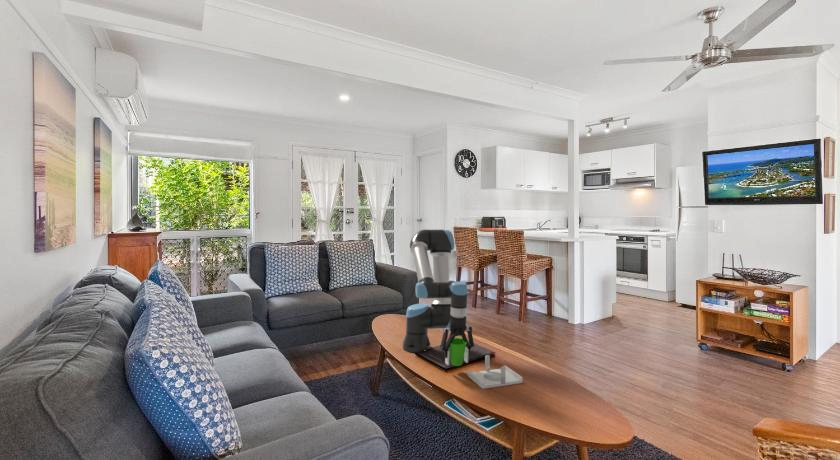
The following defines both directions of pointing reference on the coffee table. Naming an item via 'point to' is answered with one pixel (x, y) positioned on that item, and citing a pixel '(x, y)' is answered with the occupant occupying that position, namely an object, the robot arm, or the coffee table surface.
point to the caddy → (495, 376)
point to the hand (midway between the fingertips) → (456, 362)
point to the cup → (457, 351)
